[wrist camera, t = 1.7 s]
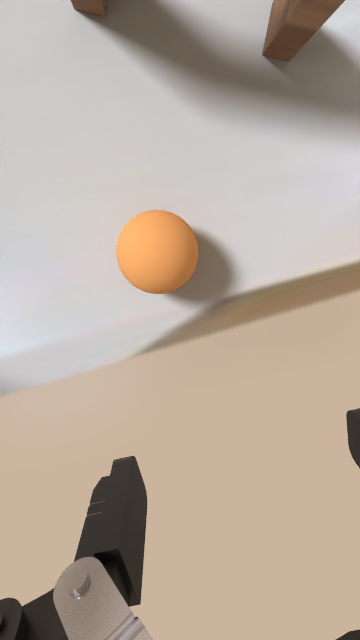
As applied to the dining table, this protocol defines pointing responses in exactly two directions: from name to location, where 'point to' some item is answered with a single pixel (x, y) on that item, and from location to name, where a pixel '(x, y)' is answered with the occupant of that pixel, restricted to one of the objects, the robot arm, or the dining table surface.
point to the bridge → (284, 24)
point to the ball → (157, 251)
